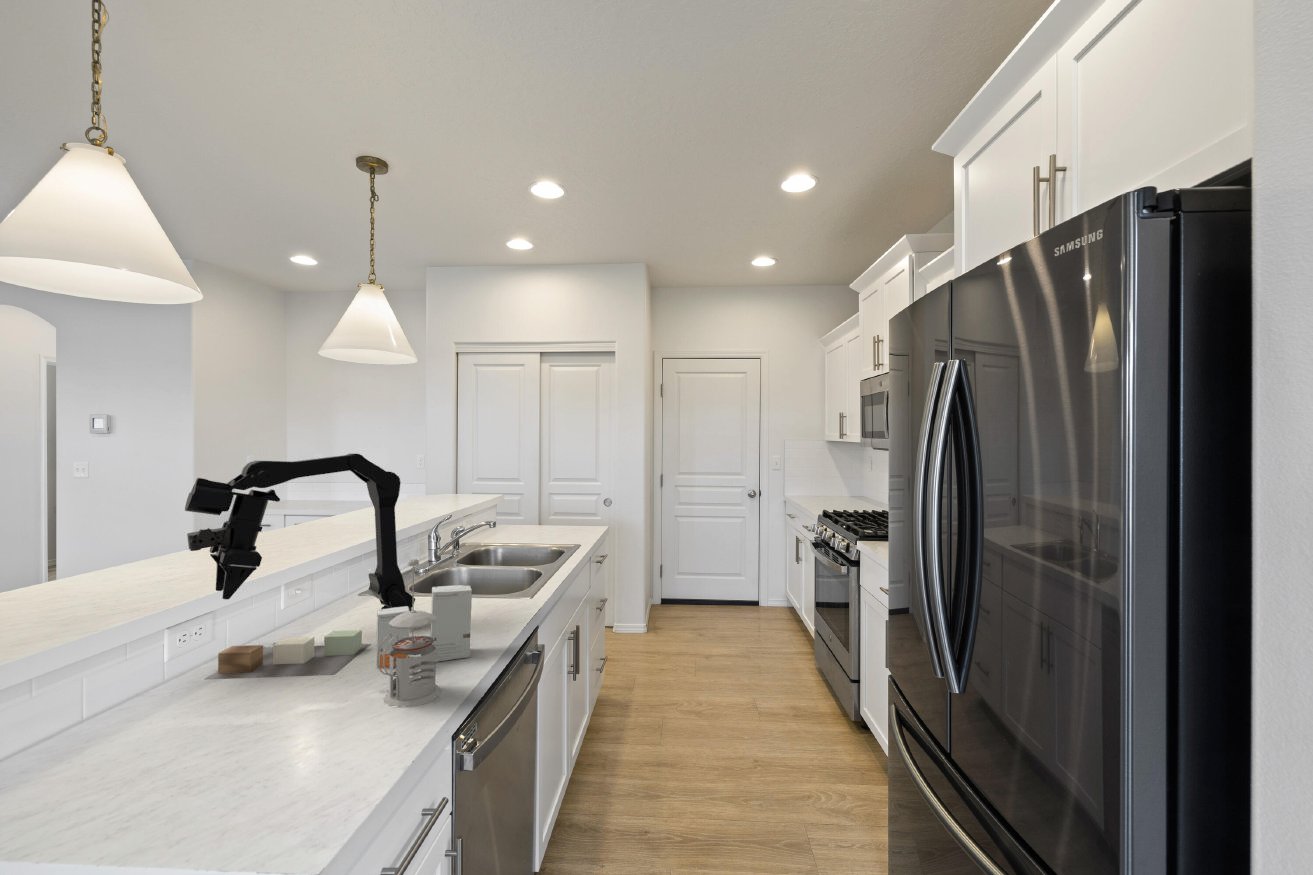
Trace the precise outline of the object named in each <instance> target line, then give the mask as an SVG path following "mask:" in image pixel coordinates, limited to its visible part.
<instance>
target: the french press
mask: <svg viewBox="0 0 1313 875" xmlns="http://www.w3.org/2000/svg"><path fill="white" fill-rule="evenodd" d="M407 566H408V567H412V596H413V598H412V611H409V612H405V613H402V614H400V615H398V616H396V617H395V618H394V619H393V620H391V621H390V622H389V625H390V627H392V628H394V629H409V630H411V631H412V632H411V633H412V634H411V636H409V637H405V638H401V639H399V640H398V635H395V636H394V637H393V638H392V634H389V635H391V640H392V641H393V642H394V643H393V644H392V648H393V649H394V650H392V651H391V652H390V667H389V671H388V670H387V667H385V653H386V650H387V647H388V645H389V644H390V642H391V640H390V641H389V643H388V644H387V646H386V648H385V651H384V655H383V666H384V668H383V669H384V671H385V672H384V671H382V668H380V666H379V656H378V655H379V651H380V648H381V645H382V643H383V642H384V640H385V639H386V638H387V637H388V636H389V635H387V636H386V637H385V638H384V639H383V641H382V642H381V644H380V647H379V649H378V652H377V651H376V654H377V665H378V668H377V669H378V670H379V672H380V673H381V674H382V675H386V676H389V691H388V693H387V694H386V695H385V696H384V697H383V703H384V704H385V703H386V704H388V705H389V706H388V705H387V706H388V707H392V706H397V707H396V708H410V707H409V706H412V707H416V706H420V705H421V706H422V705H423V703H424V704H427V703H429V702H431V701H433V700H435V699H436V698H438V697H439V696H440V694H441V693H442V690H440V689H441V687H440V686H438V685H437V684H436V674H437V673H436V671H437V670H436V665H437V664H436V662H435V661H436V648H435V646H434V645H432V643H433V642H434V639H433V638H432V637H431V636H429V635H414V629H420V628H424V627H427V626H429V625H431V624H432V623H433V622H434V621H435V620H436V616H435V615H433V614H431V613H430V612H427V611H424V610H414V606H415V605H414V604H415V602H414V598H415V590H414V589H415V587H414V586H415V583H414V581H415V567H417V566H420V562H419V560H418V559H417V558H412V559H410V560H408V561H407ZM395 637H397V641H394V640H393V639H394V638H395ZM399 653H400V654H405V655H409V656H415V657H409V658H403V657H396V658H394V659H393V656H394V655H395V654H399ZM418 655H419V656H418ZM395 661H396V665H394V666H393V663H394V662H395ZM440 692H441V693H440ZM437 696H438V697H437ZM386 704H385V705H386ZM403 706H404V707H403ZM405 706H406V707H405ZM407 706H408V707H407Z"/></svg>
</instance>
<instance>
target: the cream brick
mask: <svg viewBox="0 0 1313 875" xmlns="http://www.w3.org/2000/svg"><path fill="white" fill-rule="evenodd" d="M314 646H315V636H310V637H284V638H282V639H281V640H279V641H277V642H276V643H274V644H273V646H272V647H273V664H301V663H305V662H307V661H308V660H310V659H311V658H312V657H314Z"/></svg>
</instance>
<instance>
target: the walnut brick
mask: <svg viewBox="0 0 1313 875" xmlns="http://www.w3.org/2000/svg"><path fill="white" fill-rule="evenodd" d="M263 647H264V645H263V644H255V645H253V644H252V645H232V646H230V647H228V648H225V649H224V650H221V651H220V652H217V653H218V655H217V656H218V657H217V665H218V666H217V671H218V674H226V673H251V672H252V671H254V670H255V669H257V668H259V667H260V666H262V665H263Z"/></svg>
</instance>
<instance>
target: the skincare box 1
mask: <svg viewBox="0 0 1313 875" xmlns="http://www.w3.org/2000/svg"><path fill="white" fill-rule="evenodd" d="M376 612H377V614H376V615H377V616H376V617H377V618H376V669H379V668H378V665H377V652H378V649H379V647H380V644H381V642H382V641H383V639H384V638H385V637H386V636H387V635H389V634H392V638H393V637H394V636H395V635H398V640H399V639H401V638H405V637H410V629H394V628H392V627H390V625H389V622H390V621H391V620H393V619H394V618H395V617H396V616H398V615H400V614H402V613H405V612H409V607H408V606H405V607H394V608H389V609H381V608H380V609H377V610H376ZM390 640H391V635H389V636H388V637H387V638H386V639H385V640H384V642H383V643H382V645H381V648H380V651H379V655H378V656H379V666H380V669H384V666H383V655H384V651H385V648H386V646H387V644H388V643H389V641H390ZM393 640H394V641H397V637H395V638H394V639H393ZM393 643H394V642H393V641H392V640H391V642H390V644H389V645H388V647H387V650H386V653H385V667H386V668H390V652H391V651H392V650H394V649H393V648H392V644H393ZM409 656H410V655H405V654H400V653H399V654H395V655H394V656H393V659H394V658H396V657H403V658H410V657H409ZM394 665H396V661H395V662H394V663H393V666H394Z"/></svg>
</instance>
